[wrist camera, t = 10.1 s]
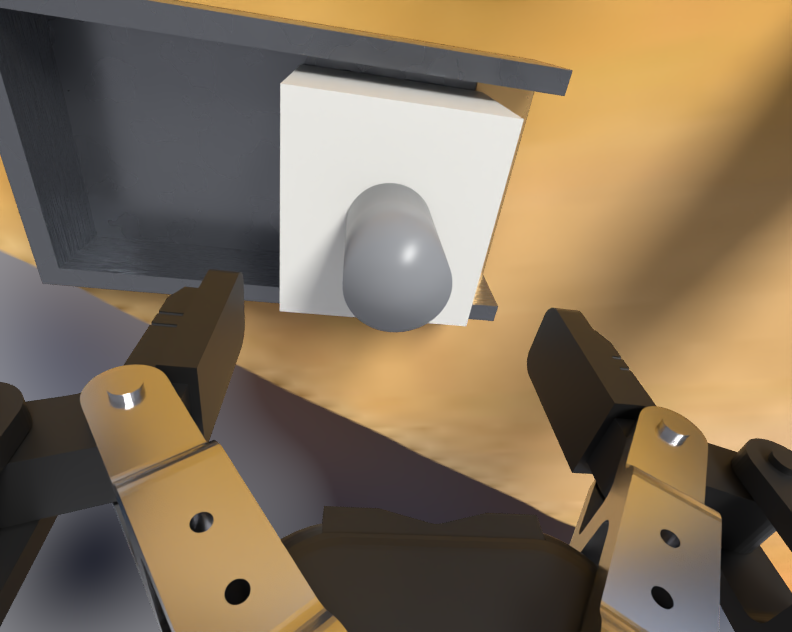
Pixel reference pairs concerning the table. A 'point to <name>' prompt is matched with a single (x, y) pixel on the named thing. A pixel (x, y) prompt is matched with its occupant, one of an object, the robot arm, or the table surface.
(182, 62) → the bay
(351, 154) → the white knobbed block
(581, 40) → the table surface
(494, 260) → the table surface
